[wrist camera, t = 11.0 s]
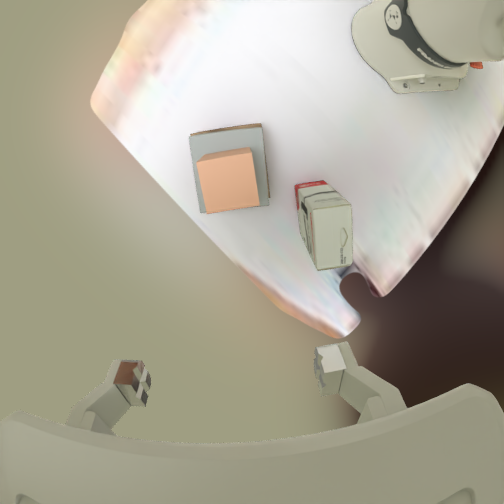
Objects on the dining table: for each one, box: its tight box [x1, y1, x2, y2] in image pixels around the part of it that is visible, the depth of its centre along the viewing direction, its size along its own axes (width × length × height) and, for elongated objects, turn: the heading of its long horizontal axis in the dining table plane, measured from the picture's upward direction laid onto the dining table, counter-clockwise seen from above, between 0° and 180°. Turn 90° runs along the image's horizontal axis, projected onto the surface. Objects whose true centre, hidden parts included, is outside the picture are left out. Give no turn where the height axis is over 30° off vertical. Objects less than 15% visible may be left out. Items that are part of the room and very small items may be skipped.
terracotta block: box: [196, 147, 260, 214], centre depth 27 cm, size 5×5×6 cm
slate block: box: [189, 127, 269, 213], centre depth 32 cm, size 8×9×5 cm
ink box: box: [295, 181, 353, 271], centre depth 37 cm, size 8×5×12 cm, turn 10°
